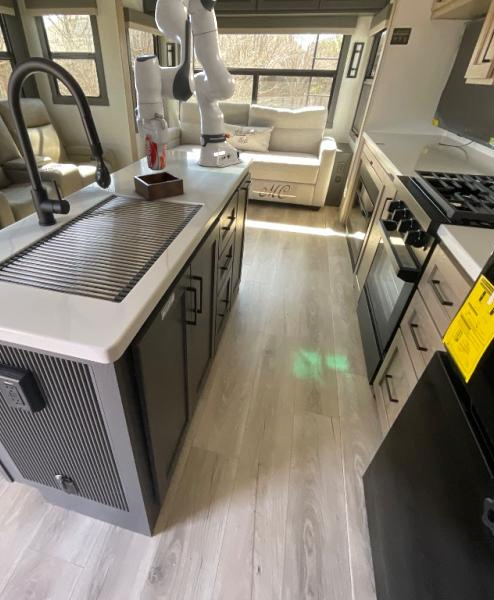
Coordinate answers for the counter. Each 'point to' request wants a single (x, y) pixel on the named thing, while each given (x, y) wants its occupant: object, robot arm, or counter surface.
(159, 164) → the soda can
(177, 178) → the box
